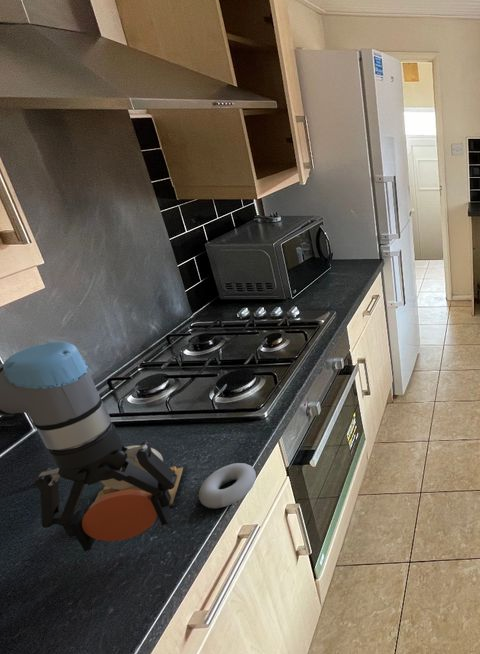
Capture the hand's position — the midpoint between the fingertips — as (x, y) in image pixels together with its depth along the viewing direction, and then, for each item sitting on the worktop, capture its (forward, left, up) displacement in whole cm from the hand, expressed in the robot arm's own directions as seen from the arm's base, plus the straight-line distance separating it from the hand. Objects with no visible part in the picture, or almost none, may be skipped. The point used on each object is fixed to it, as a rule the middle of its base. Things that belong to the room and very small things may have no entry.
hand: (129, 530), depth 74 cm
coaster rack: (-3, +12, -4) cm, 13 cm away
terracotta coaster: (0, 0, -1) cm, 1 cm away
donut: (+14, +6, -4) cm, 16 cm away
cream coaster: (-3, +15, -3) cm, 16 cm away
